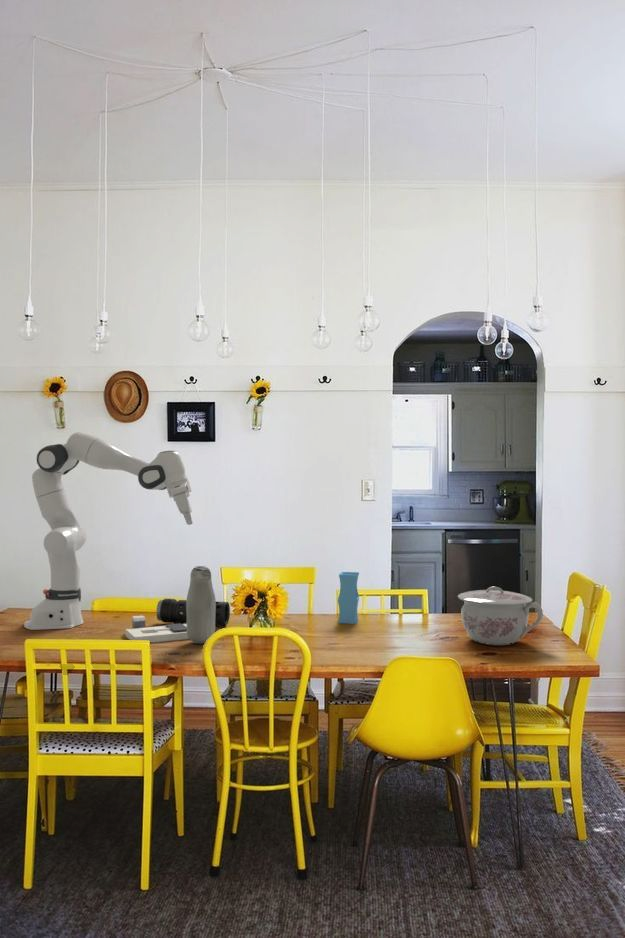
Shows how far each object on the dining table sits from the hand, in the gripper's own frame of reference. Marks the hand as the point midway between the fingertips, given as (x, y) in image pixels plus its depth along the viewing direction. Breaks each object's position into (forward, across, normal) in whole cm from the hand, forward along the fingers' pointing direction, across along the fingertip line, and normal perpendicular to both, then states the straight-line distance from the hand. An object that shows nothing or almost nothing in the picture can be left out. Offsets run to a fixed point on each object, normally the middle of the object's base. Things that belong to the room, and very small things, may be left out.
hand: (190, 524), depth 314 cm
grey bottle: (+43, +16, -8) cm, 47 cm away
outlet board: (+37, +6, -22) cm, 44 cm away
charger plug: (+34, -2, -31) cm, 46 cm away
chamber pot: (+77, +19, +95) cm, 124 cm away
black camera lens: (+39, -14, -12) cm, 43 cm away
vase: (+58, -19, +49) cm, 78 cm away
